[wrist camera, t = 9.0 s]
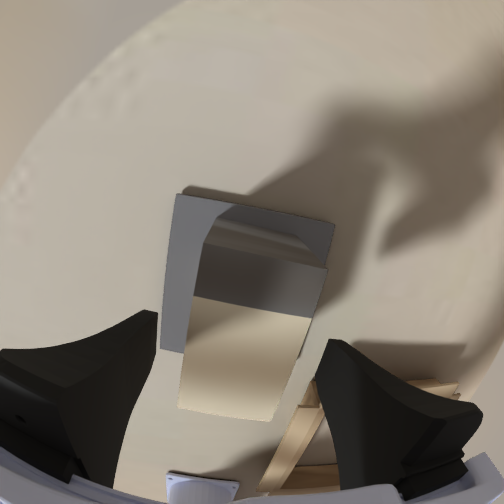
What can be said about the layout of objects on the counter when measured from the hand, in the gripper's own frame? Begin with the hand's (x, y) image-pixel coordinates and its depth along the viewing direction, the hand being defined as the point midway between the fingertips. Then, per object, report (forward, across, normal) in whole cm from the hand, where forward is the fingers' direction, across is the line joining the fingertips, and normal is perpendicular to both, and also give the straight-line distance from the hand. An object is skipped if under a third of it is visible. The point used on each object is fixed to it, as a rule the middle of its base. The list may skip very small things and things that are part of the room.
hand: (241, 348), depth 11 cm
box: (+6, 0, 0) cm, 6 cm away
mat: (+6, 0, 0) cm, 6 cm away
